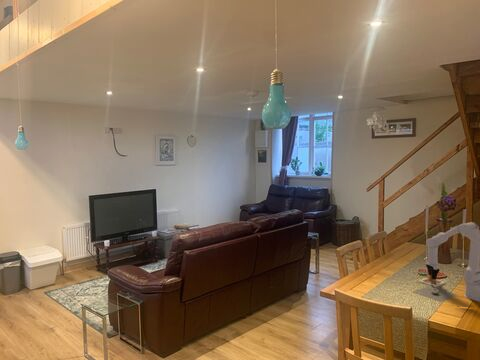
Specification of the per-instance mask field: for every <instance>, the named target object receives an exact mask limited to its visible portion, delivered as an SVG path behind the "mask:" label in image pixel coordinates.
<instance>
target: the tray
mask: <svg viewBox="0 0 480 360" xmlns="http://www.w3.org/2000/svg"><path fill="white" fill-rule="evenodd" d="M418 282H419V283H421V284H423V285H427V286H430V283H428V277H425V278H422V279H419V280H418ZM443 285H446V282H445V281H443V280H439V279H437V278H436V284H433V286H434V287H435V288H438V287H440V286H443Z"/></svg>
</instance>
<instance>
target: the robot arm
mask: <svg viewBox="0 0 480 360" xmlns="http://www.w3.org/2000/svg"><path fill="white" fill-rule="evenodd" d="M479 229H480V227H479V226H478V225H477V224H476V223H475V222H473V221H470V222H467V223H466V222H465V223H460V224H459V225H455V226H453V227H452V228H451V229H448V231H446V232H440V231H439V232H438V233H437V234H436V235H433V236H431V238H427V239H426V241H425V244H426V246H427V261H426V262H425V267H426V268H427V269H426V270H427V273H428V274H427V275H432V279H437V278H438V274H439V272H440V271H441V270H440V268H438V267H439V264H438V259H439V257H438V256H439V255H438V253H439V250H438V249H439V246H440V245H442V244H443V243H446V242H447V241H448V240H449V238H450V237H452V236H454V235H456V234H461V235H463V236H464V237H466V238H467V239H468V240H470V243H469V254H468V255H469V256H468V263H467V264H468V265H467V267H466V269H465V273H464V274H463V275H462V276H463V277H462V278H463V281H464V282H465V294H463V296H464V297H465V298H466V299H469V300H472V301H475V302H480V230H479Z"/></svg>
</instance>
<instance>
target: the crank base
mask: <svg viewBox="0 0 480 360" xmlns="http://www.w3.org/2000/svg"><path fill="white" fill-rule="evenodd" d="M435 289H437V290H439V294H437V295H436V294H432V293H431V290H430V285H427V286H425V287H423V288H419V289H417V290H414V291H412V293H413V294H416V295H419V296H422V297H425V298H428V299H430V300H434V301H437V302H439V303H443V302H446V301H447V300H450V299H452V298H455V297H457V296H458V294H456V293H453V292H450V291H447V290H444V289H439V288H438V287H435Z"/></svg>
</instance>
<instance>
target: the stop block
mask: <svg viewBox="0 0 480 360" xmlns="http://www.w3.org/2000/svg"><path fill="white" fill-rule="evenodd" d="M427 278H428V280H427V283H430V281H432V282H433V284H434V285H436V284H437V282H436V279H437V278H436V279H432V275H429V274H427Z"/></svg>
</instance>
